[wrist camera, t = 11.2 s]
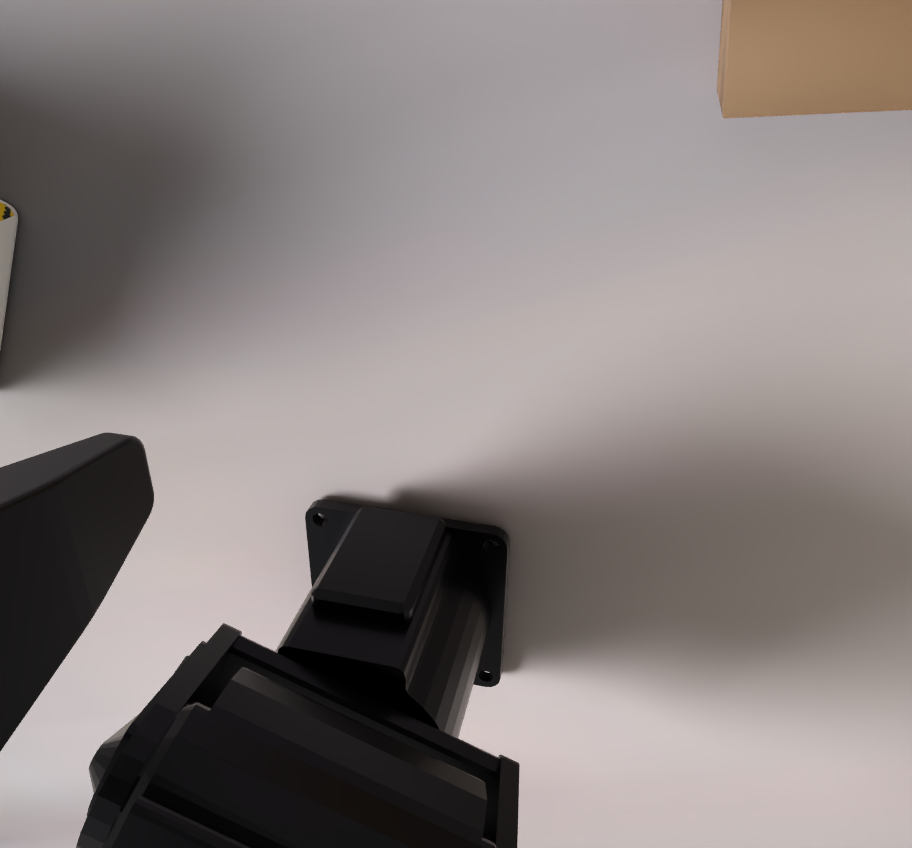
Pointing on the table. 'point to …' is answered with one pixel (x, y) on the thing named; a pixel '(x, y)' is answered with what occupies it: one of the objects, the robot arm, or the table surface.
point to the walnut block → (814, 57)
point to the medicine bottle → (6, 254)
